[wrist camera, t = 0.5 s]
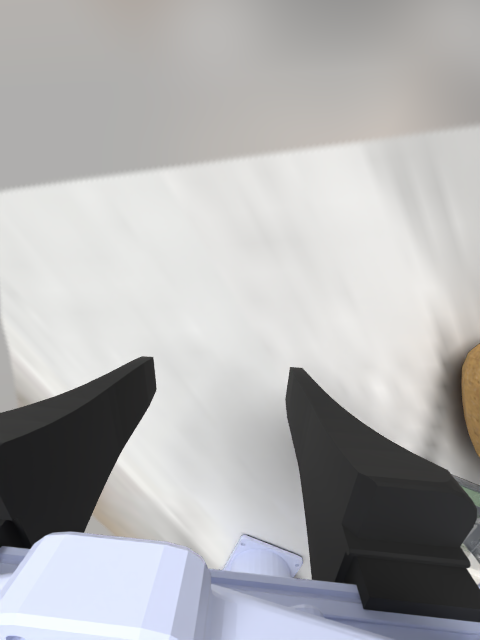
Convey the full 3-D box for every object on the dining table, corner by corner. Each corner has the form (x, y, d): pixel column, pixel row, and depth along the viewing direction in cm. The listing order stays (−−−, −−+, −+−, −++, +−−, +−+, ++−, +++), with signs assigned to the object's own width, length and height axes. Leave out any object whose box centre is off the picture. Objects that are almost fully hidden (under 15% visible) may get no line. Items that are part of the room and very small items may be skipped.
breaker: (454, 570, 25) (488, 623, 21) (434, 562, 25) (465, 614, 21) (471, 552, 24) (509, 603, 21) (450, 544, 24) (485, 593, 21)
